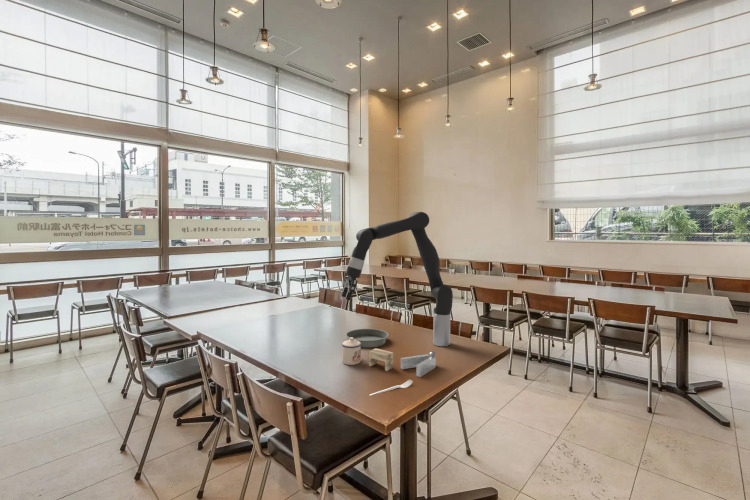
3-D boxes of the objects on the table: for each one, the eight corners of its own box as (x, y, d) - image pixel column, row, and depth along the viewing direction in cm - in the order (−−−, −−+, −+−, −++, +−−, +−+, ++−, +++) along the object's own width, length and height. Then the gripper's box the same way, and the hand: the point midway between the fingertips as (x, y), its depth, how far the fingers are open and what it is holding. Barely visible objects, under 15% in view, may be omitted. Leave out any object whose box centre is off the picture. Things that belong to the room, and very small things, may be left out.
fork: (367, 395, 137) (366, 390, 137) (409, 383, 147) (408, 378, 147) (371, 399, 134) (371, 394, 134) (413, 386, 144) (413, 381, 144)
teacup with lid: (355, 366, 164) (355, 341, 164) (338, 363, 168) (338, 338, 168) (367, 358, 175) (367, 335, 174) (351, 355, 179) (351, 332, 178)
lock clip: (375, 362, 169) (375, 348, 169) (393, 367, 163) (393, 352, 163) (368, 365, 165) (369, 351, 165) (386, 371, 159) (386, 355, 159)
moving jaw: (431, 362, 169) (432, 350, 169) (436, 365, 166) (436, 352, 166) (400, 368, 162) (400, 354, 162) (404, 370, 159) (404, 357, 159)
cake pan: (389, 336, 214) (389, 328, 214) (387, 349, 190) (387, 341, 190) (349, 334, 217) (349, 327, 216) (341, 347, 192) (341, 339, 192)
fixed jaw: (431, 366, 165) (431, 356, 165) (435, 367, 164) (435, 357, 164) (416, 376, 154) (416, 365, 154) (420, 377, 153) (420, 366, 152)
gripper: (366, 270, 175) (356, 302, 175) (357, 268, 189) (348, 297, 188) (352, 266, 173) (342, 299, 172) (344, 264, 186) (335, 294, 186)
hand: (345, 298), depth 180 cm, fingers open, 8 cm apart
